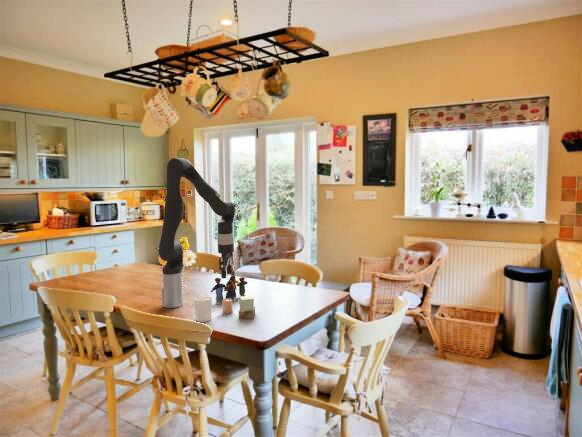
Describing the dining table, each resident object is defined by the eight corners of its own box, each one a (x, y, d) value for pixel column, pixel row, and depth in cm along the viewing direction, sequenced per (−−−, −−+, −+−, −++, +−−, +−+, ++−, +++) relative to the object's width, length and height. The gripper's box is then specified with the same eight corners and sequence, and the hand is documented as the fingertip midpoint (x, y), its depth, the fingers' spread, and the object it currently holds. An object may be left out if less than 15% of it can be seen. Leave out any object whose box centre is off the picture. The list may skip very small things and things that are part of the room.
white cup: (191, 321, 190) (190, 300, 189) (201, 315, 197) (200, 295, 196) (206, 323, 187) (205, 301, 186) (215, 317, 194) (214, 296, 193)
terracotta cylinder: (221, 313, 200) (220, 301, 199) (224, 310, 204) (224, 298, 204) (230, 314, 199) (230, 302, 198) (233, 311, 204) (233, 299, 203)
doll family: (223, 307, 210) (222, 281, 208) (209, 304, 214) (208, 279, 213) (249, 295, 230) (248, 271, 229) (235, 293, 234) (234, 270, 233)
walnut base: (238, 320, 192) (238, 311, 191) (240, 314, 199) (240, 306, 198) (254, 319, 192) (253, 311, 191) (255, 314, 199) (255, 306, 198)
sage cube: (242, 311, 191) (241, 300, 190) (239, 307, 196) (239, 296, 196) (253, 310, 193) (253, 298, 192) (251, 306, 198) (250, 295, 197)
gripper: (222, 240, 206) (223, 272, 207) (213, 245, 192) (214, 279, 193) (237, 240, 205) (238, 272, 206) (228, 245, 191) (229, 280, 192)
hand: (226, 276), depth 200 cm, fingers open, 8 cm apart
